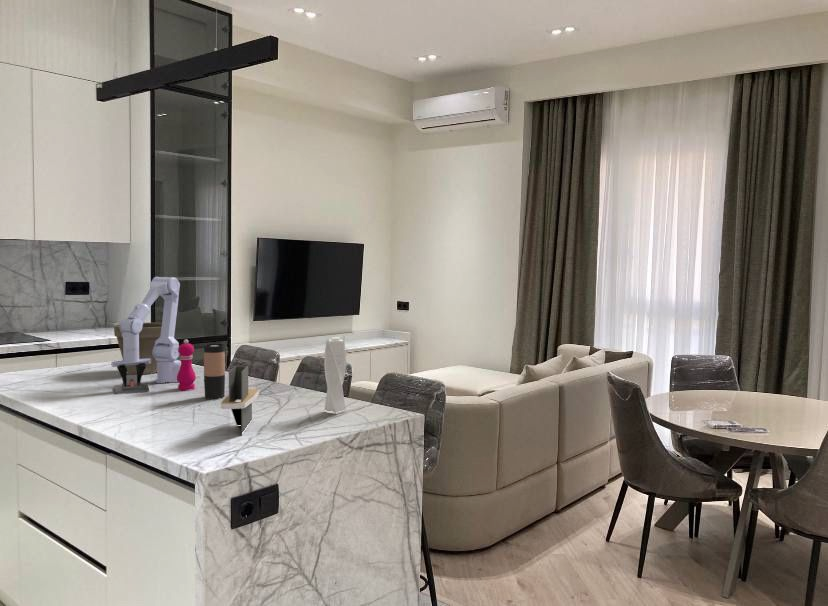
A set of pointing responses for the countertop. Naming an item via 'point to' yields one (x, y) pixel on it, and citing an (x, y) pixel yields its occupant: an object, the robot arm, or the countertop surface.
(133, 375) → the brushed metal block
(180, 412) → the countertop surface
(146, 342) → the plant pot
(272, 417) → the countertop surface
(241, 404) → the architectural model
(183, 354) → the pepper mill
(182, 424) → the countertop surface
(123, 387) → the stand base
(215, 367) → the travel mug
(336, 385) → the skyscraper
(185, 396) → the countertop surface
